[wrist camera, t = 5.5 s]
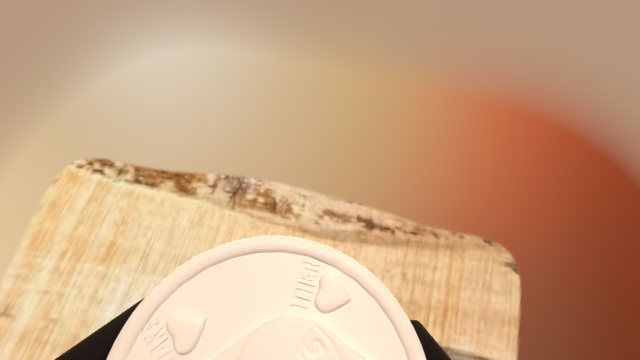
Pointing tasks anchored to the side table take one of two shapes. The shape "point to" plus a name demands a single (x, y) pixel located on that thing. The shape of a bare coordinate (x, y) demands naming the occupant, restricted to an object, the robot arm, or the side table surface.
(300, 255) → the smoothie
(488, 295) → the side table surface
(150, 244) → the side table surface
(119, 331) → the robot arm
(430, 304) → the side table surface
